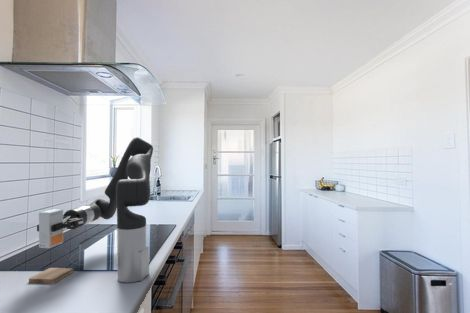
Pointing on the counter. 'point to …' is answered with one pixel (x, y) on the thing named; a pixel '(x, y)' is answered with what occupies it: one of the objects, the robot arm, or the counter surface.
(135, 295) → the counter surface
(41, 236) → the skincare box
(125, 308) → the counter surface
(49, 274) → the plate
